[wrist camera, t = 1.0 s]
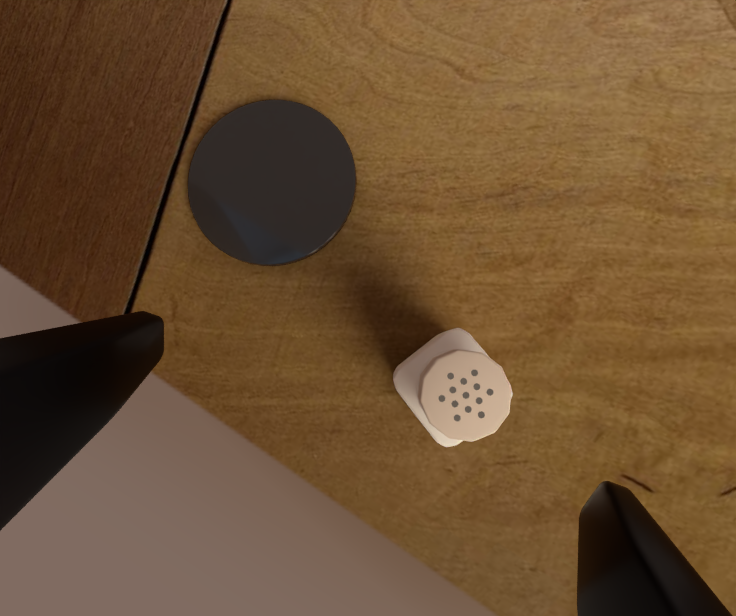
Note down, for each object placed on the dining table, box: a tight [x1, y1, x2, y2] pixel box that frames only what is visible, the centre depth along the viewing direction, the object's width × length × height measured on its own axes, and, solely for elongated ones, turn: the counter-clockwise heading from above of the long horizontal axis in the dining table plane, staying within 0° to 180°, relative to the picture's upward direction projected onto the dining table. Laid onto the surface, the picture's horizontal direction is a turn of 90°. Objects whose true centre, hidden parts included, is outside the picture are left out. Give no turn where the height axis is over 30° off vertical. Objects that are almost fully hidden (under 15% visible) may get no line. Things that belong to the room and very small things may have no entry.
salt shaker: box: [393, 328, 513, 447], centre depth 20 cm, size 4×4×10 cm
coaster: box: [188, 100, 356, 266], centre depth 26 cm, size 10×10×1 cm
